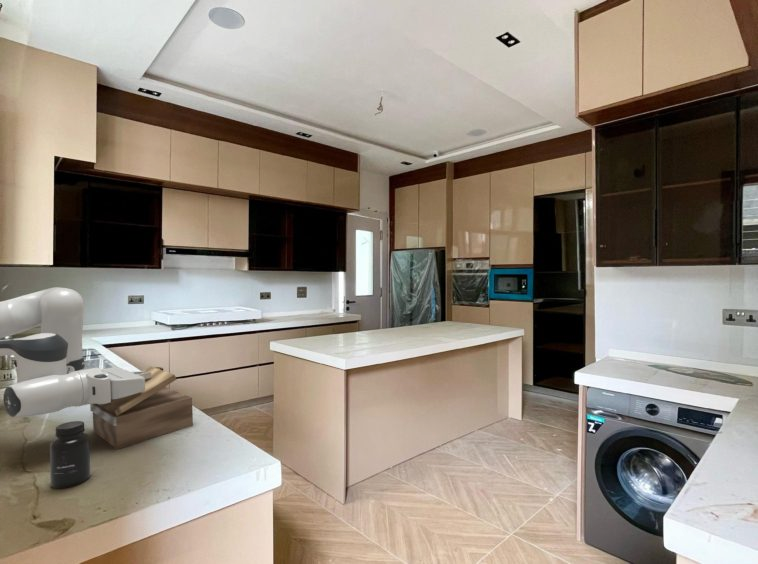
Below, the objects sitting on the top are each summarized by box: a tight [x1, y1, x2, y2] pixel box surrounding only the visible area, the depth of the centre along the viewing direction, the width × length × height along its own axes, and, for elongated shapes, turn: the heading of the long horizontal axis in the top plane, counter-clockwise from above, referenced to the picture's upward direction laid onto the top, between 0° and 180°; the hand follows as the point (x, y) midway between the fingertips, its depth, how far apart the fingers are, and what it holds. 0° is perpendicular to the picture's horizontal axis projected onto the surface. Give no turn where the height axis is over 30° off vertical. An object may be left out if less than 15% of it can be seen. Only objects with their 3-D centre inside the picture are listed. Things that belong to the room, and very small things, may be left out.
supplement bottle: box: [49, 420, 92, 489], centre depth 85 cm, size 7×7×12 cm
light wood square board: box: [98, 365, 178, 416], centre depth 111 cm, size 16×16×2 cm
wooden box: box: [89, 386, 194, 450], centre depth 112 cm, size 18×20×8 cm
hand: (149, 374), depth 113 cm, fingers closed
